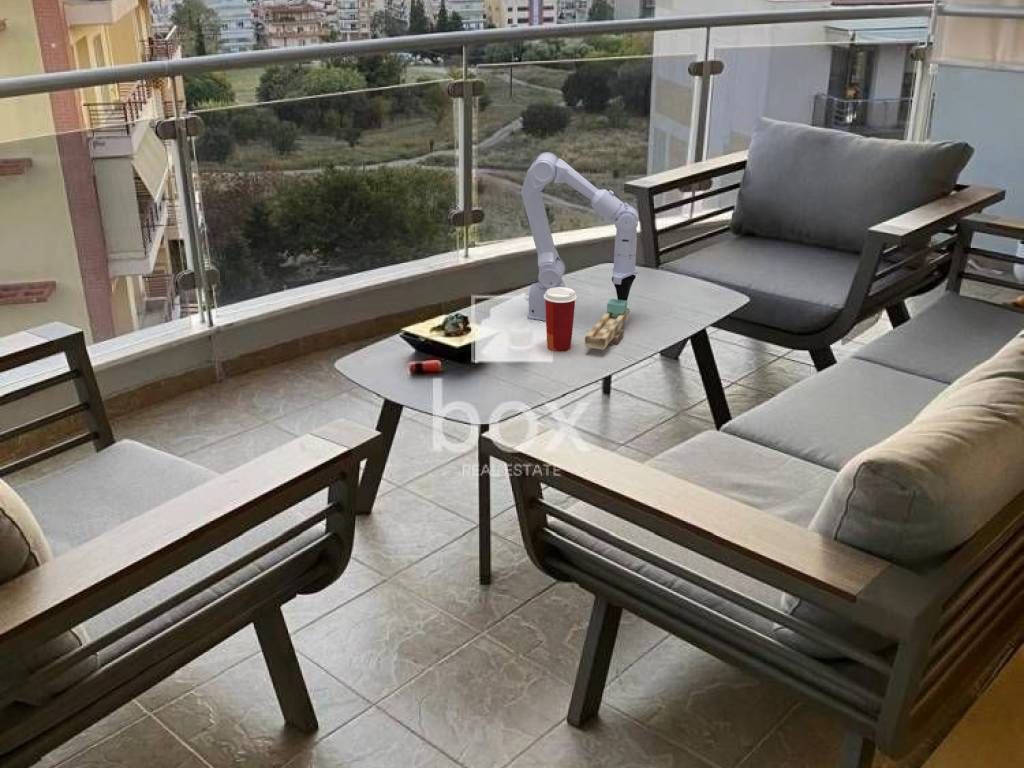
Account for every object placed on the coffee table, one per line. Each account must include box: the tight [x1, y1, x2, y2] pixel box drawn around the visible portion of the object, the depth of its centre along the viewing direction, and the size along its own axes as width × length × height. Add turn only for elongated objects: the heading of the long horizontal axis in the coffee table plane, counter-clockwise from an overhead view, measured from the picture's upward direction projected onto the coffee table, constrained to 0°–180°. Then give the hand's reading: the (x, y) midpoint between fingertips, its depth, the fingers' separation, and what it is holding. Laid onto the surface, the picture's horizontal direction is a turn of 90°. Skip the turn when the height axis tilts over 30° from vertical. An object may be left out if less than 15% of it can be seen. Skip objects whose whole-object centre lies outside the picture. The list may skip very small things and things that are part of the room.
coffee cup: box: [544, 286, 578, 353], centre depth 255 cm, size 8×8×15 cm
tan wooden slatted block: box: [584, 307, 630, 351], centre depth 263 cm, size 24×7×5 cm, turn 159°
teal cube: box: [606, 298, 628, 318], centre depth 269 cm, size 4×4×4 cm
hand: (622, 301), depth 273 cm, fingers closed
